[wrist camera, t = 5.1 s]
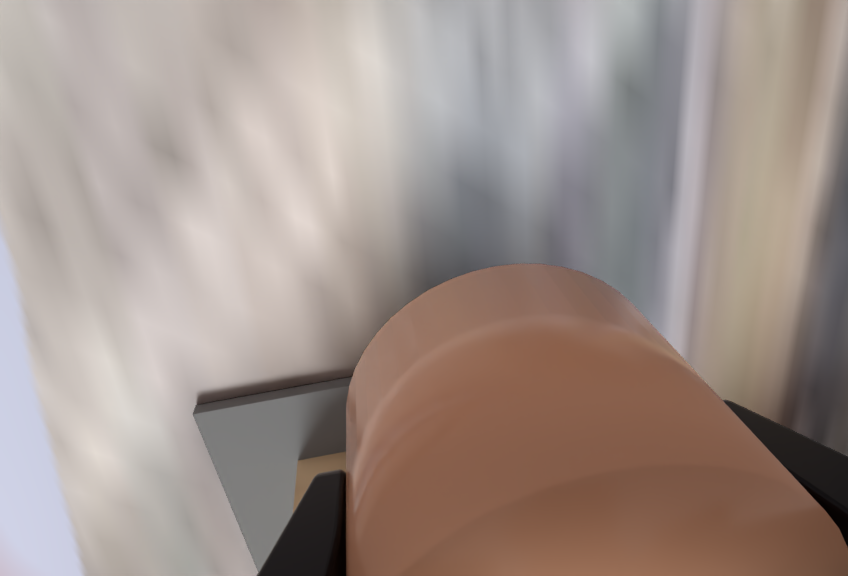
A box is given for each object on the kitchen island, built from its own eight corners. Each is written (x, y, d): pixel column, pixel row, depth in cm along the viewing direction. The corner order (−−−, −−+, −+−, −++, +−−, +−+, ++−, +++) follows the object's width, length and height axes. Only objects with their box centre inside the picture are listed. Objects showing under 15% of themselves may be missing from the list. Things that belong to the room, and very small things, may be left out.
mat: (548, 340, 21) (552, 348, 21) (555, 566, 27) (559, 575, 27) (195, 405, 21) (192, 414, 20) (284, 621, 27) (283, 632, 26)
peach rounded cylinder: (670, 236, 8) (909, 414, 5) (651, 492, 11) (802, 737, 7) (313, 297, 8) (288, 532, 5) (375, 545, 10) (390, 825, 7)
